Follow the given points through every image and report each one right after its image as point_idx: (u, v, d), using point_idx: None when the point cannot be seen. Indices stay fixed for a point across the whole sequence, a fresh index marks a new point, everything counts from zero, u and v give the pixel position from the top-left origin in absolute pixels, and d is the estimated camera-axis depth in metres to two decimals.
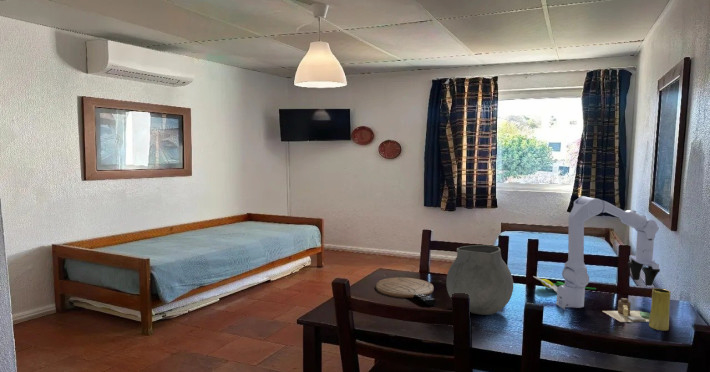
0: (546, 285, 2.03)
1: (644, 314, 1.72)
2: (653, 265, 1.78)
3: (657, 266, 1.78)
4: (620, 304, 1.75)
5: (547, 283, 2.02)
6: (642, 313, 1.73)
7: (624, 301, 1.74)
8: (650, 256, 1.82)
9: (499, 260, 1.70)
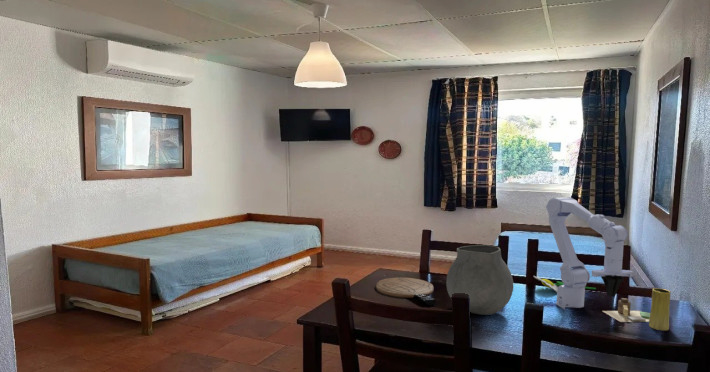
0: (546, 285, 2.03)
1: (644, 314, 1.72)
2: None
3: (593, 273, 1.68)
4: (620, 304, 1.75)
5: (547, 283, 2.02)
6: (642, 313, 1.73)
7: (624, 301, 1.74)
8: (606, 266, 1.68)
9: (499, 260, 1.70)
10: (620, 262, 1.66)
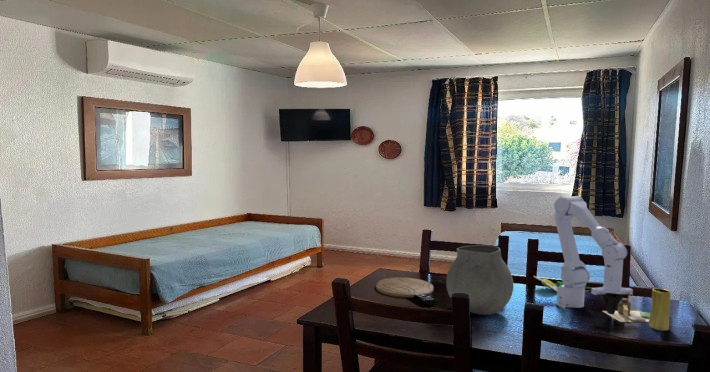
0: (546, 285, 2.03)
1: (644, 314, 1.72)
2: None
3: (593, 291, 1.69)
4: (620, 304, 1.75)
5: (547, 283, 2.02)
6: (642, 313, 1.73)
7: (624, 301, 1.74)
8: (606, 283, 1.69)
9: (499, 260, 1.70)
10: (619, 280, 1.67)
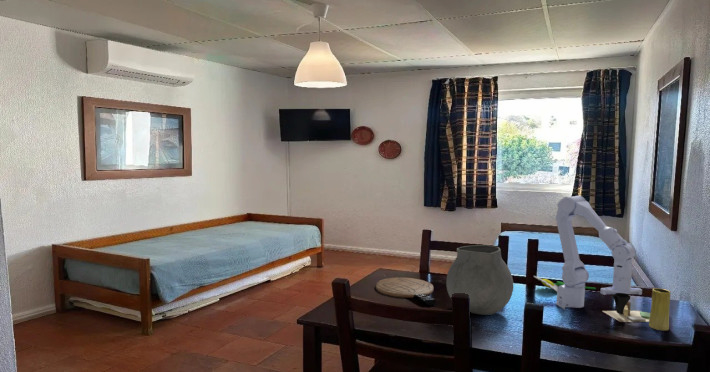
0: (547, 285, 2.03)
1: (644, 314, 1.72)
2: None
3: (602, 291, 1.69)
4: None
5: (548, 283, 2.02)
6: (642, 313, 1.73)
7: None
8: (615, 283, 1.69)
9: (499, 260, 1.70)
10: (629, 280, 1.67)
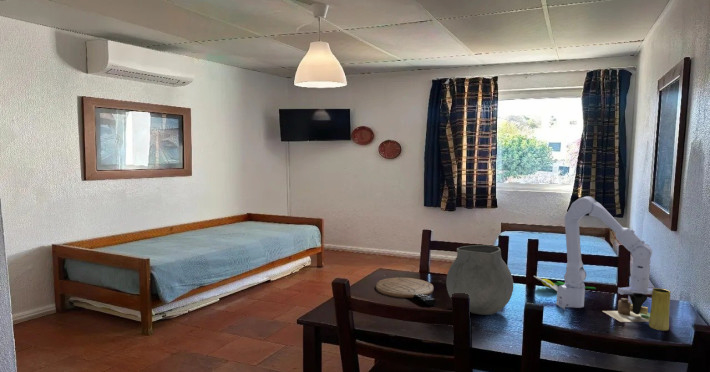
0: (547, 285, 2.03)
1: (644, 314, 1.72)
2: None
3: (620, 291, 1.70)
4: (628, 305, 1.73)
5: (548, 283, 2.02)
6: None
7: (628, 301, 1.74)
8: (633, 284, 1.69)
9: (499, 260, 1.70)
10: (647, 280, 1.68)
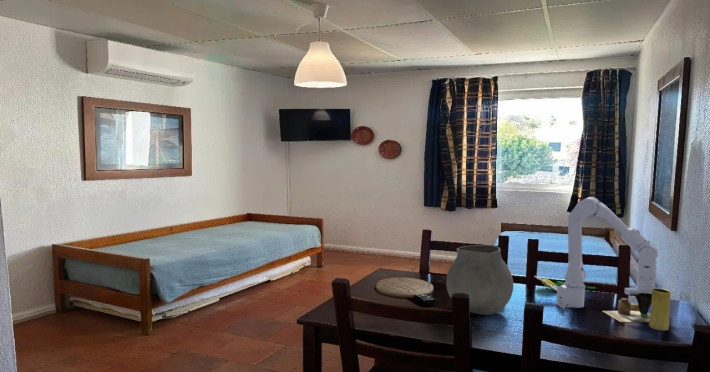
0: (547, 285, 2.04)
1: (644, 314, 1.72)
2: None
3: (626, 291, 1.70)
4: (629, 305, 1.74)
5: (548, 283, 2.03)
6: None
7: None
8: (639, 283, 1.70)
9: (499, 260, 1.70)
10: (653, 280, 1.68)
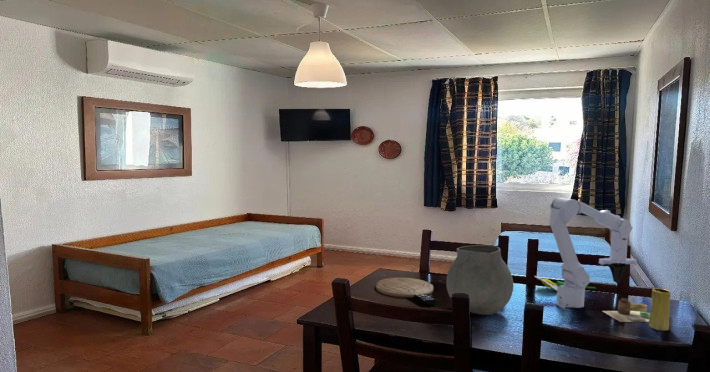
0: (547, 285, 2.04)
1: (644, 314, 1.72)
2: None
3: (600, 261, 1.85)
4: (629, 305, 1.74)
5: (548, 283, 2.03)
6: (642, 313, 1.73)
7: None
8: (612, 254, 1.84)
9: (499, 260, 1.70)
10: (625, 251, 1.83)
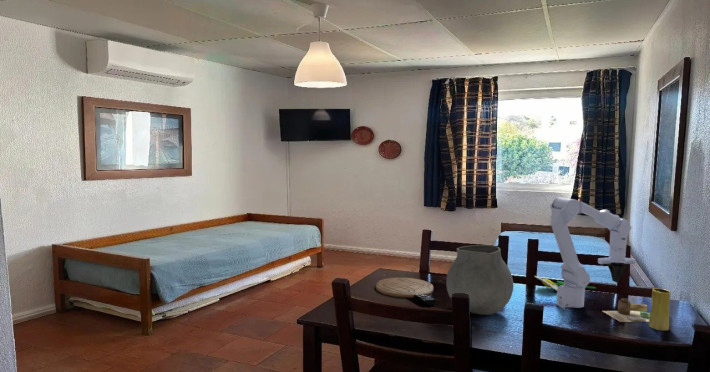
0: (547, 285, 2.04)
1: (644, 314, 1.72)
2: None
3: (599, 261, 1.85)
4: (629, 305, 1.74)
5: (548, 283, 2.03)
6: (642, 313, 1.73)
7: None
8: (611, 254, 1.85)
9: (499, 260, 1.70)
10: (624, 250, 1.83)
